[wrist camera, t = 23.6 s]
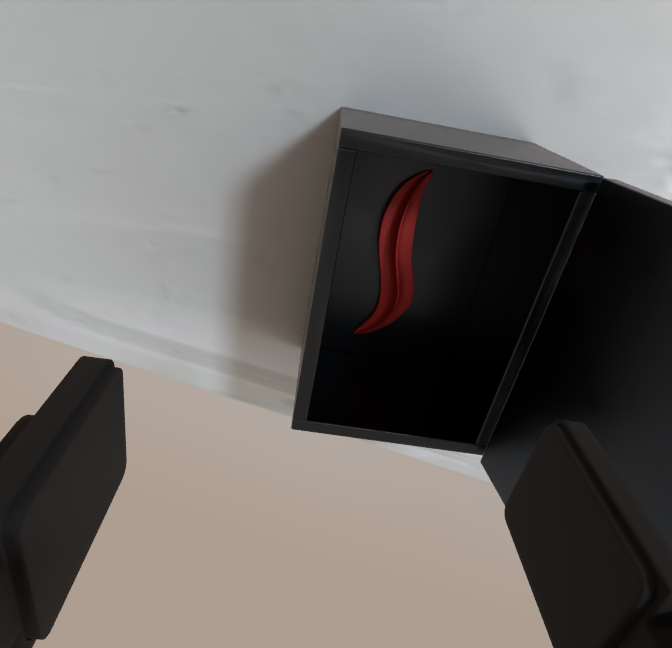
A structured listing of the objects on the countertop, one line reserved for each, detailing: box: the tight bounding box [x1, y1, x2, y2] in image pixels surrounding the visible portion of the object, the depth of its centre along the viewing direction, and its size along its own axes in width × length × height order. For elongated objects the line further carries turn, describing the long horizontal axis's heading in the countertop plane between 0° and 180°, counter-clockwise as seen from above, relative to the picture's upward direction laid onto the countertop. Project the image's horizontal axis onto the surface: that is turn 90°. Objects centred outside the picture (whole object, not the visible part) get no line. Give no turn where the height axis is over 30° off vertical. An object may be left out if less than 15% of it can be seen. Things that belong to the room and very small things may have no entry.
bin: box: [291, 107, 603, 455], centre depth 29 cm, size 12×17×9 cm
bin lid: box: [481, 178, 672, 549], centre depth 20 cm, size 12×17×6 cm
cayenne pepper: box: [353, 170, 434, 334], centre depth 31 cm, size 12×5×2 cm, turn 154°
